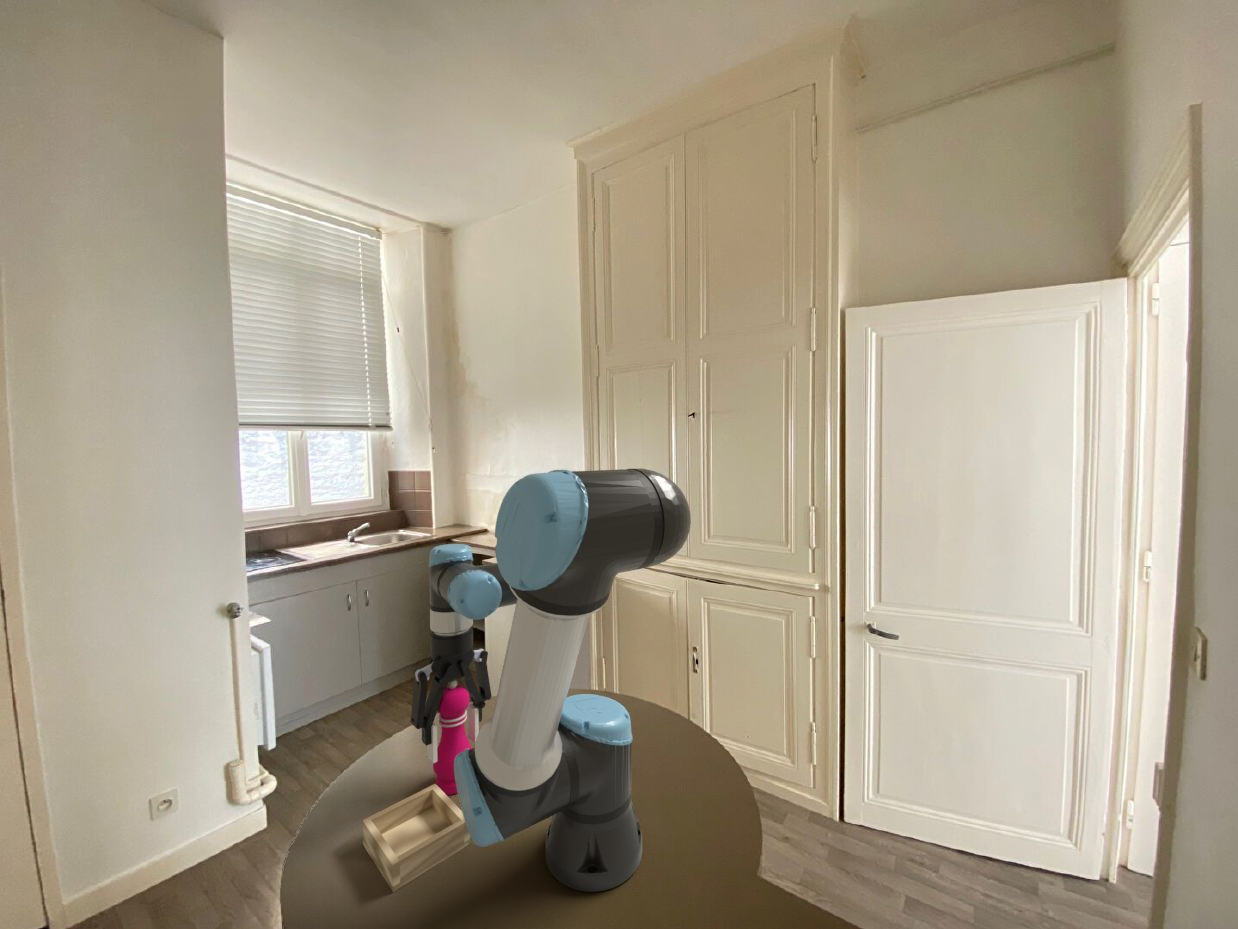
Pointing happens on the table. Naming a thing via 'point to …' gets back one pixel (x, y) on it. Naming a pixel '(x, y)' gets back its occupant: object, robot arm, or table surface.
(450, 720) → the pepper mill
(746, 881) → the table surface
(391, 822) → the tray
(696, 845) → the table surface
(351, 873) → the table surface
